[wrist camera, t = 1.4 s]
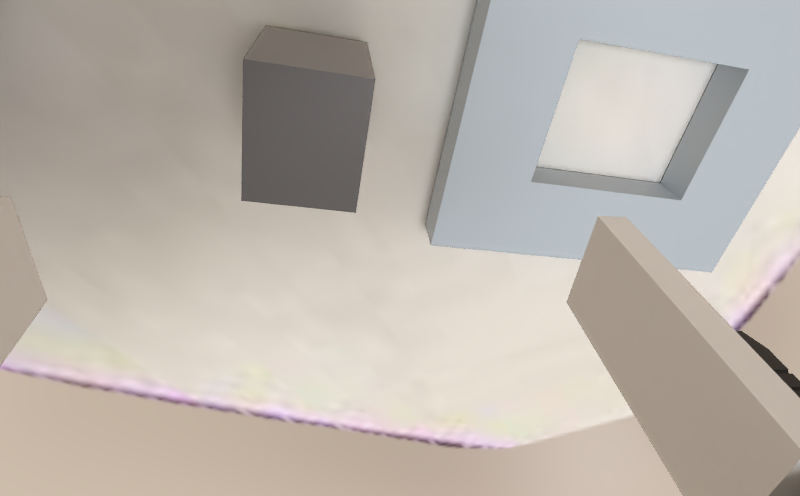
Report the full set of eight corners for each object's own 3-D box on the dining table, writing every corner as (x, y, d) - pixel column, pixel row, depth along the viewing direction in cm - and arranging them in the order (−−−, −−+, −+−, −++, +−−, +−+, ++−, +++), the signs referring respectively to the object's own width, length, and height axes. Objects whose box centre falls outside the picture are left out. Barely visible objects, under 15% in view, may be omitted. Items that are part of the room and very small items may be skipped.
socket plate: (425, 225, 34) (430, 245, 32) (500, -99, 24) (515, -100, 22) (691, 252, 37) (711, 272, 35) (845, -21, 28) (886, -16, 26)
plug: (265, 131, 29) (241, 200, 22) (269, 20, 26) (243, 58, 19) (351, 143, 30) (355, 212, 23) (365, 36, 27) (375, 78, 20)
